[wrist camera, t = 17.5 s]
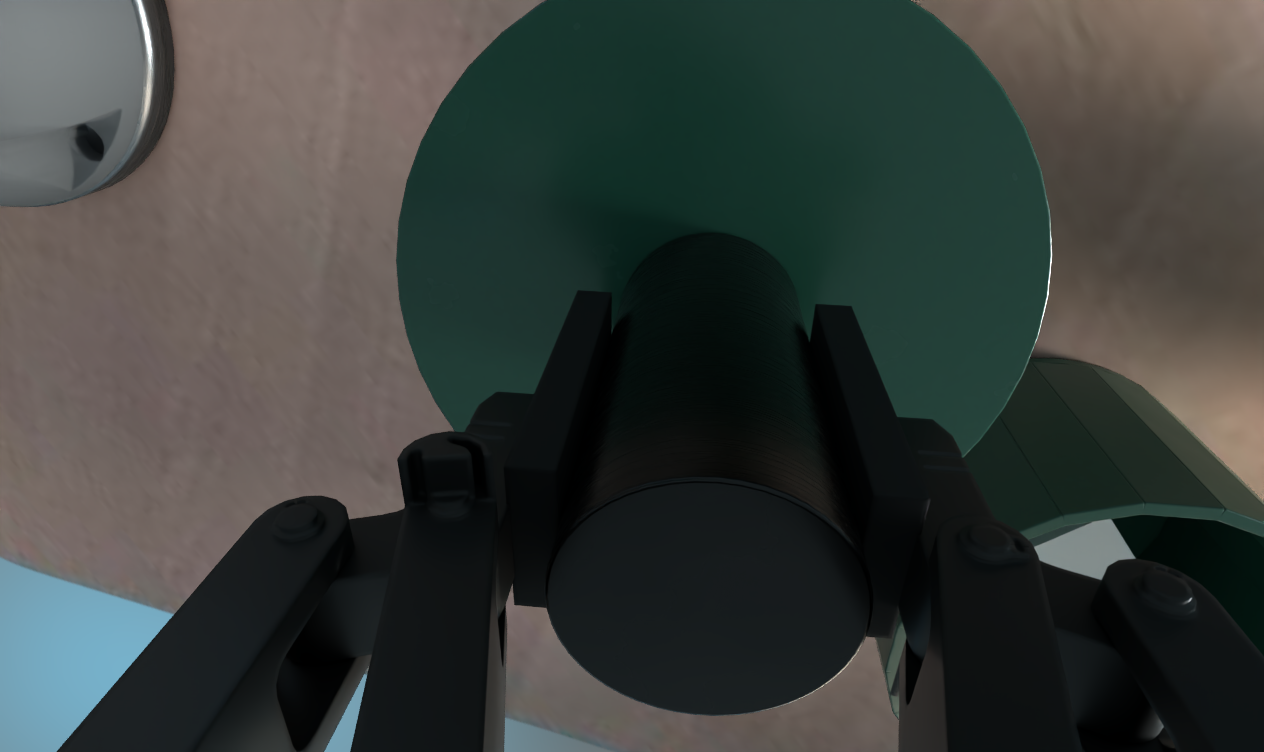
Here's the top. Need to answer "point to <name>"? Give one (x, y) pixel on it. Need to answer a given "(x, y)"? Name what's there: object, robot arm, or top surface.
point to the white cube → (1083, 547)
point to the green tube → (1117, 485)
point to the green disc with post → (723, 302)
